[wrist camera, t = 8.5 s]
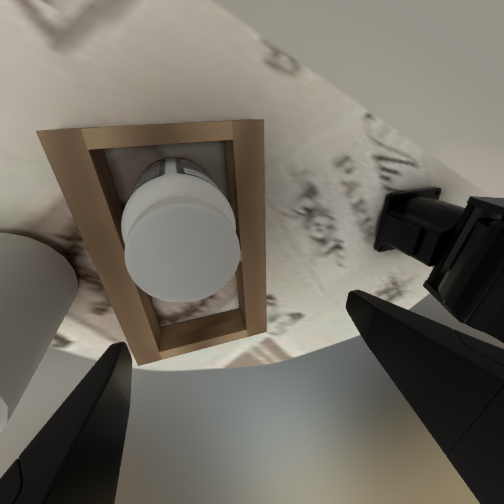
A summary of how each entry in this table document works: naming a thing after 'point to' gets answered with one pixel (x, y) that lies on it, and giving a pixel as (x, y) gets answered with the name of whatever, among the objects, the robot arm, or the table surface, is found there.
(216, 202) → the pill bottle
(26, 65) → the table surface
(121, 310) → the wooden divided tray
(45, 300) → the can
